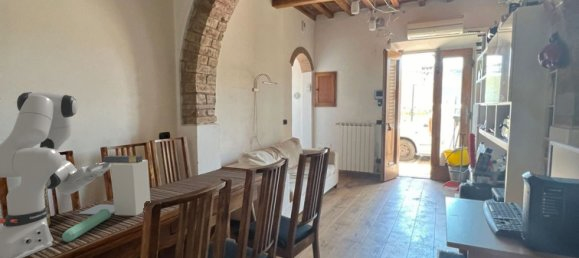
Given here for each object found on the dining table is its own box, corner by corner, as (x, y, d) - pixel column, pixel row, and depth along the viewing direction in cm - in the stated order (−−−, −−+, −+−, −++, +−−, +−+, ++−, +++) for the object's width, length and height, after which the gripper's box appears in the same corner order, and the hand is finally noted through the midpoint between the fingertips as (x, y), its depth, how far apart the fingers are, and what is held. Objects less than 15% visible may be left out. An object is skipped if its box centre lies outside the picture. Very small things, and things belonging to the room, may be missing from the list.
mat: (109, 215, 151) (109, 214, 151) (78, 214, 153) (78, 213, 153) (128, 206, 165) (128, 205, 165) (99, 205, 167) (99, 204, 167)
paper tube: (27, 229, 136) (22, 174, 134) (44, 223, 143) (39, 171, 141) (38, 230, 134) (32, 175, 132) (54, 224, 140) (49, 172, 138)
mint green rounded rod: (68, 228, 121) (107, 206, 145) (56, 234, 121) (96, 211, 146) (75, 241, 121) (112, 217, 146) (62, 247, 121) (102, 222, 146)
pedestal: (136, 215, 150) (132, 164, 148) (114, 214, 151) (110, 164, 149) (150, 207, 162) (147, 159, 159) (130, 206, 163) (127, 159, 161)
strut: (138, 162, 152) (137, 156, 151) (102, 162, 155) (102, 156, 154) (143, 161, 156) (142, 155, 155) (108, 161, 158) (108, 155, 158)
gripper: (64, 174, 149) (85, 160, 146) (96, 166, 169) (115, 154, 167) (71, 185, 149) (91, 172, 146) (102, 176, 169) (121, 164, 166)
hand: (104, 162), depth 157 cm, fingers open, 8 cm apart
